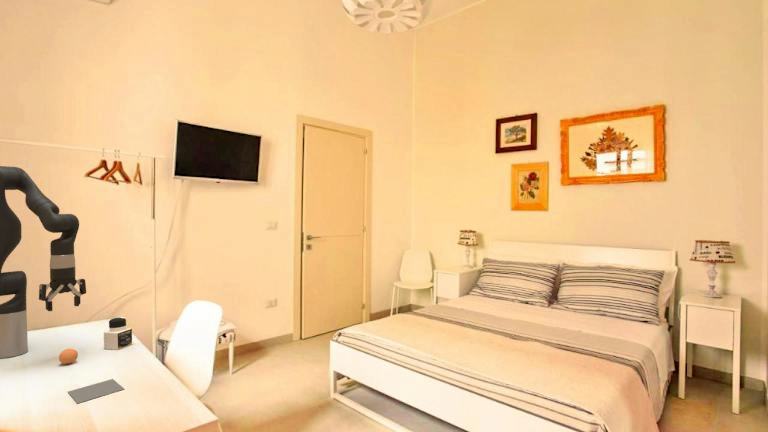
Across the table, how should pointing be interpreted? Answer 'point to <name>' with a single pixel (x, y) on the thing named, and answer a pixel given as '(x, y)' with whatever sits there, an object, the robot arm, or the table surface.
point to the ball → (68, 356)
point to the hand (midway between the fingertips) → (63, 308)
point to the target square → (95, 391)
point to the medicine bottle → (117, 334)
